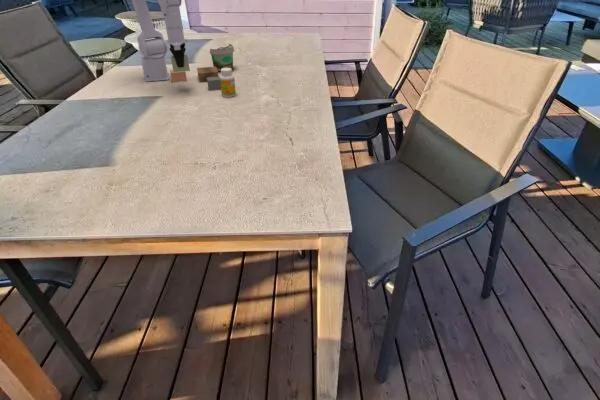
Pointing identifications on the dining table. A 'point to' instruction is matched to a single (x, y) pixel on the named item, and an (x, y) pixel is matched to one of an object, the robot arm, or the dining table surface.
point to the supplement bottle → (227, 83)
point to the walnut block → (206, 73)
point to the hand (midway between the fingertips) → (180, 65)
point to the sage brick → (176, 69)
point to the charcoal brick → (214, 83)
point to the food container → (222, 57)
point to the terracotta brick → (178, 76)
